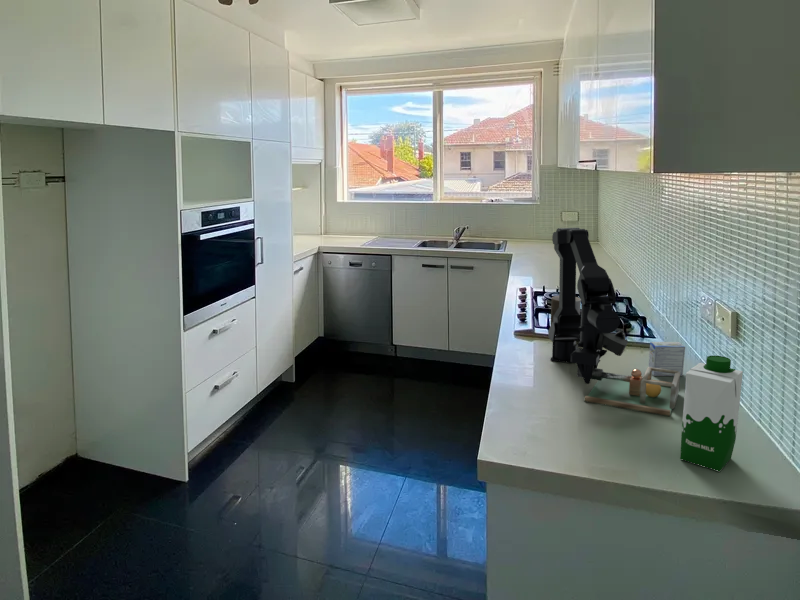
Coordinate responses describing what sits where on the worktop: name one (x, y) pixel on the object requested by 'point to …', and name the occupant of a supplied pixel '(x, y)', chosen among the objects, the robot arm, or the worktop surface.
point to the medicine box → (666, 357)
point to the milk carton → (710, 412)
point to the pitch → (619, 396)
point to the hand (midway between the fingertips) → (589, 380)
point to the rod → (619, 378)
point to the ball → (653, 390)
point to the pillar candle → (556, 305)
